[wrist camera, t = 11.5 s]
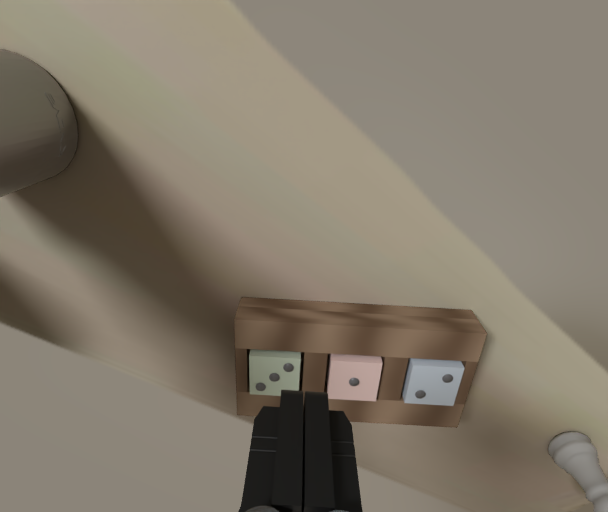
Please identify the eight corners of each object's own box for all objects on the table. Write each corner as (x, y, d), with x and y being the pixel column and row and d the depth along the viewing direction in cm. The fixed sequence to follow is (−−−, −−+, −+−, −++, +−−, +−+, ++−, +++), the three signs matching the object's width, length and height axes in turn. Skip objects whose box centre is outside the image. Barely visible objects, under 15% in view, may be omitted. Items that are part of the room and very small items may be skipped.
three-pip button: (253, 375, 37) (249, 395, 34) (253, 338, 35) (248, 356, 32) (299, 377, 37) (298, 397, 34) (301, 341, 35) (300, 359, 32)
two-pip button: (399, 383, 37) (404, 403, 34) (406, 347, 35) (413, 366, 32) (445, 386, 36) (453, 406, 34) (455, 349, 35) (464, 369, 32)
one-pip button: (326, 379, 37) (327, 399, 34) (330, 342, 35) (331, 361, 32) (372, 381, 37) (375, 402, 34) (378, 345, 35) (382, 364, 32)
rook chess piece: (540, 438, 42) (587, 515, 34) (582, 423, 40) (640, 499, 33) (552, 462, 43) (600, 539, 36) (593, 448, 42) (651, 525, 35)
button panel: (243, 387, 39) (237, 415, 36) (241, 297, 35) (234, 319, 32) (445, 399, 39) (457, 427, 36) (471, 310, 35) (487, 333, 32)
